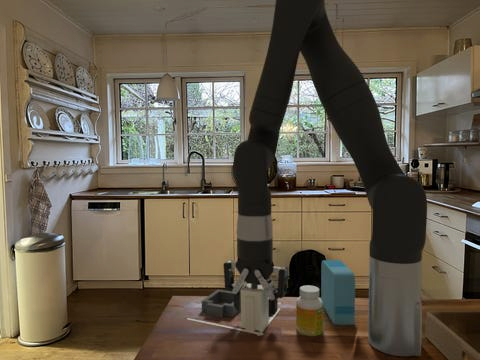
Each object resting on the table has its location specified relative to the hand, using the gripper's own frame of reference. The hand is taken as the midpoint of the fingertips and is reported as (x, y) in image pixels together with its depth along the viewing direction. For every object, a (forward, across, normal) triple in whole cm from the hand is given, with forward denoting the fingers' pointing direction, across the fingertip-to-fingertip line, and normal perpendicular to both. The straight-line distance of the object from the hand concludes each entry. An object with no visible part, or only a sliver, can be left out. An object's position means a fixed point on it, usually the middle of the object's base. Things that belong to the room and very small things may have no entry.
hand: (255, 312), depth 74 cm
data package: (+4, -15, -13) cm, 20 cm away
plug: (+3, 0, 0) cm, 3 cm away
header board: (+4, +6, -3) cm, 8 cm away
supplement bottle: (+4, -11, -2) cm, 12 cm away
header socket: (+3, +9, -5) cm, 11 cm away
